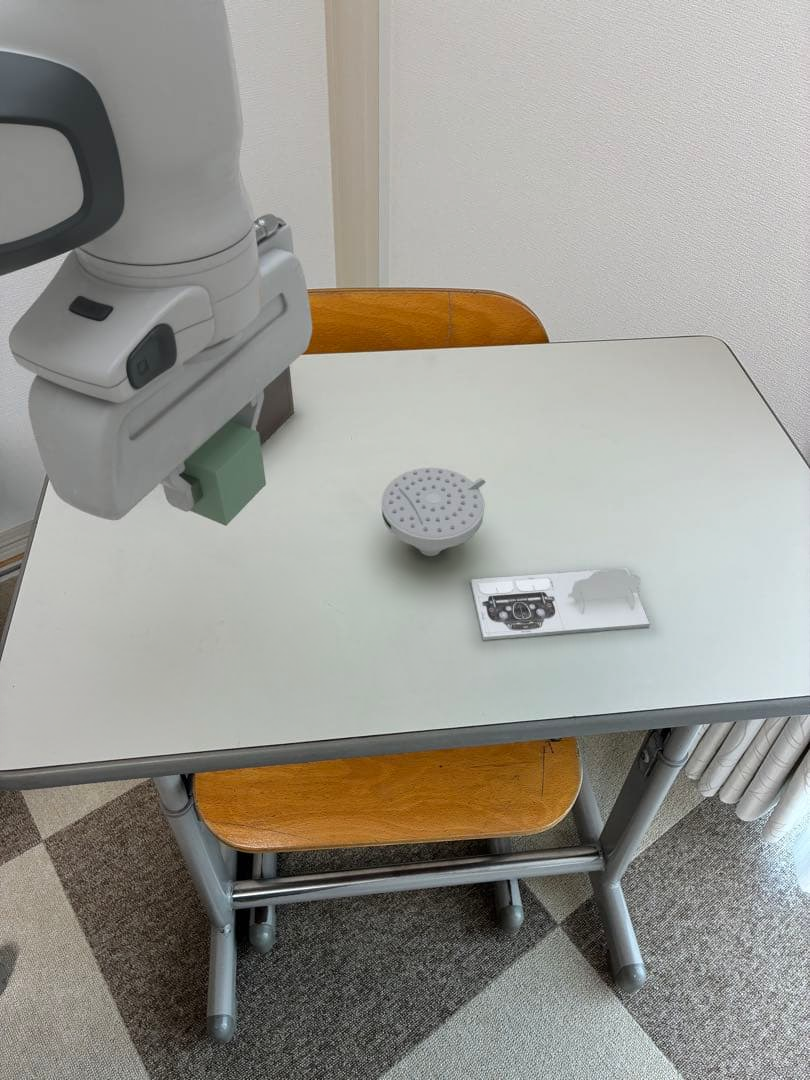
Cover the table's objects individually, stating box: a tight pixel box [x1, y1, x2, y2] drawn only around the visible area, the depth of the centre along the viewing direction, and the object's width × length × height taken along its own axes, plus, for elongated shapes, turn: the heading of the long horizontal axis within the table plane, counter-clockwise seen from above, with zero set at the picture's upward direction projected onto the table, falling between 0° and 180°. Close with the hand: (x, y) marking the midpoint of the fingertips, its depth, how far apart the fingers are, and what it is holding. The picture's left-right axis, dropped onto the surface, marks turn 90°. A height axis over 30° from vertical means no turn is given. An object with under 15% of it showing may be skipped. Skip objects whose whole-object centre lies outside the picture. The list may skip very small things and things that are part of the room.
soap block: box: [183, 421, 267, 527], centre depth 51 cm, size 4×4×4 cm
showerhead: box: [381, 467, 486, 557], centre depth 75 cm, size 9×7×10 cm
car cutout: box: [470, 567, 651, 641], centre depth 71 cm, size 15×7×4 cm, turn 96°
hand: (214, 475), depth 51 cm, fingers closed on soap block, 4 cm apart
